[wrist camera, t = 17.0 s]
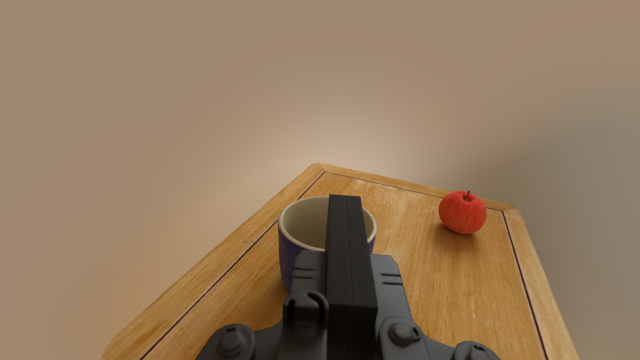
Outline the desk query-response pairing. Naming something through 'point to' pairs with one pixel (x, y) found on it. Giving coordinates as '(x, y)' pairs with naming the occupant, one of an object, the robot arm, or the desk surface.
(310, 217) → the planter
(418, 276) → the desk surface
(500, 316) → the desk surface
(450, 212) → the apple
